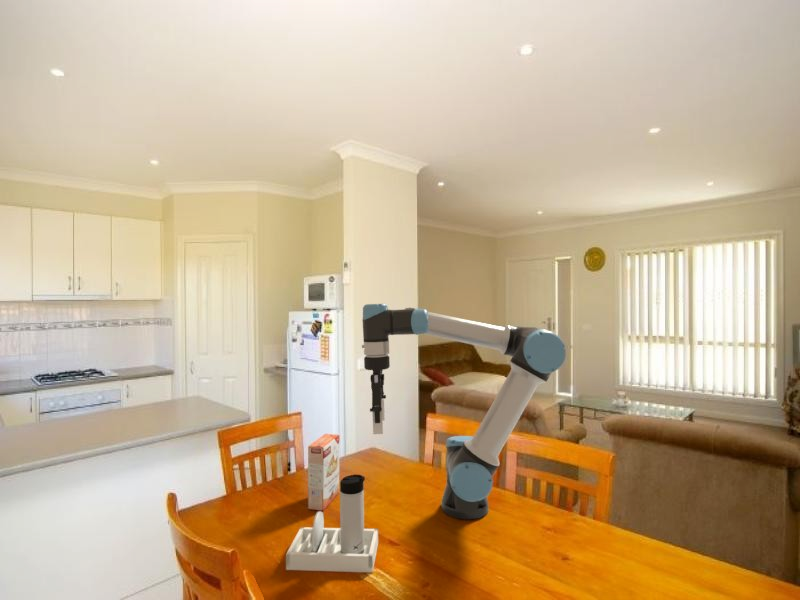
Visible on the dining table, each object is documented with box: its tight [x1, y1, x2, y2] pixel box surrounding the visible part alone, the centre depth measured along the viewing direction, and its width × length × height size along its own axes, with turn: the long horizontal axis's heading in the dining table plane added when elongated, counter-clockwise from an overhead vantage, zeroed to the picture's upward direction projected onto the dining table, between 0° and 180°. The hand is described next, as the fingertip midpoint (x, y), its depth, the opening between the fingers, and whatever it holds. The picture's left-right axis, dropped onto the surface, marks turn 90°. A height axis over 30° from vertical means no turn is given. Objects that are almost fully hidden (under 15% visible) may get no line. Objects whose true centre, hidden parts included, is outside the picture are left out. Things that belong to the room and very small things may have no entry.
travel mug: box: [339, 474, 366, 554], centre depth 116 cm, size 6×7×20 cm
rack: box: [285, 511, 379, 573], centre depth 116 cm, size 22×13×11 cm, turn 87°
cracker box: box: [307, 433, 340, 512], centre depth 147 cm, size 14×6×21 cm, turn 166°
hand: (379, 426), depth 129 cm, fingers open, 13 cm apart
